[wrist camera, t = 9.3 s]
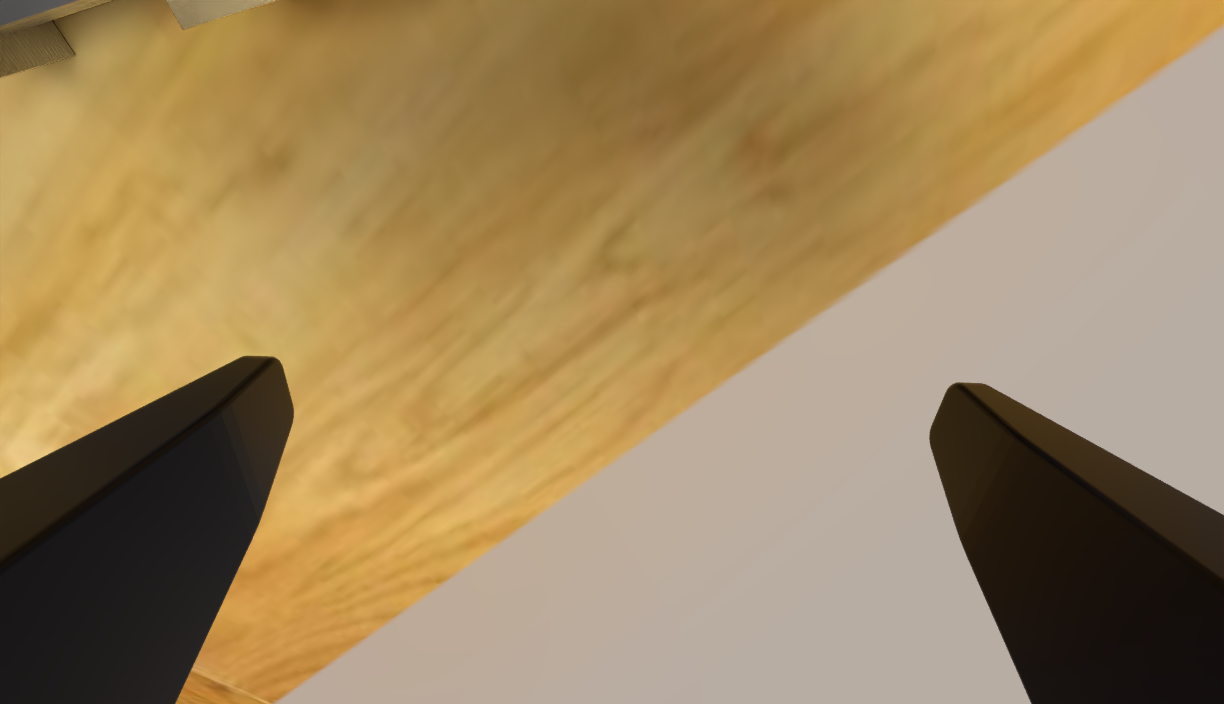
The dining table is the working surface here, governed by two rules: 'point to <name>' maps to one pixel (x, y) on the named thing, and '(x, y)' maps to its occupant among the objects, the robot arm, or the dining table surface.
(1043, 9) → the dining table surface
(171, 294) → the dining table surface
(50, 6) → the pipe valve
